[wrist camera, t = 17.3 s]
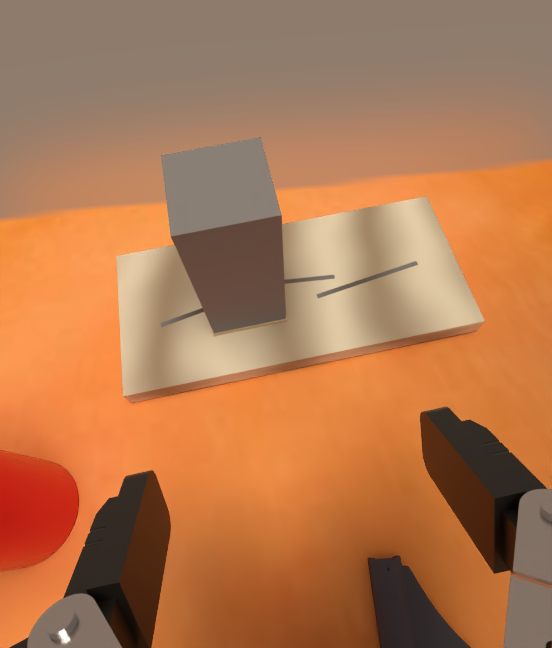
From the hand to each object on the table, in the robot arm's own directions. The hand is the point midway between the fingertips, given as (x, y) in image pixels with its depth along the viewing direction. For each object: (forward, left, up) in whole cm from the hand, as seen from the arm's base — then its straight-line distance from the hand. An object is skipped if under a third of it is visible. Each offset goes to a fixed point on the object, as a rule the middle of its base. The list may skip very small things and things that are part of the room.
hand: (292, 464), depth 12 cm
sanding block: (+1, -12, -10) cm, 16 cm away
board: (-2, -12, -12) cm, 17 cm away
